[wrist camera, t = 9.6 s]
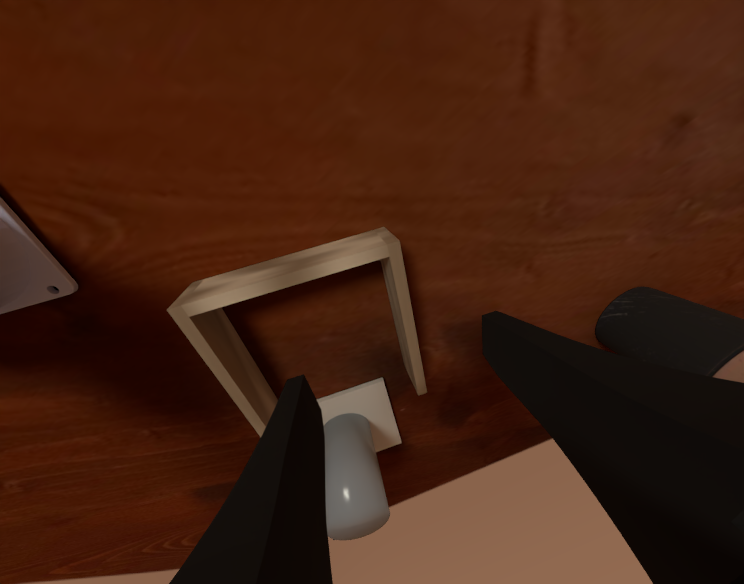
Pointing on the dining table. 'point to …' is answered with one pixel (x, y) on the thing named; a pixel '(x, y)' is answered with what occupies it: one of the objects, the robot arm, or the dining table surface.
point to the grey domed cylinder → (352, 479)
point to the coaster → (365, 410)
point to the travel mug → (674, 333)
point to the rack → (206, 297)
